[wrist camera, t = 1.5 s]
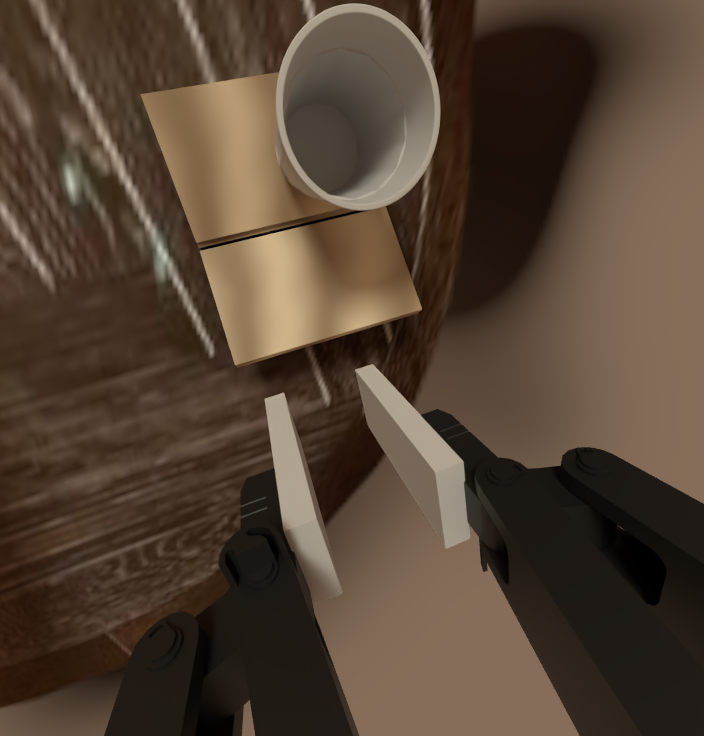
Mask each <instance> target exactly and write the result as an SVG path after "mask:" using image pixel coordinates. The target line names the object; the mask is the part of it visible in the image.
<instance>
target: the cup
mask: <svg viewBox="0 0 704 736" xmlns="http://www.w3.org/2000/svg"><path fill="white" fill-rule="evenodd" d="M439 125H440V98H439V91H438V85H437V81H436V77H435V74H434V71H433V68H432V65H431V63H430V60H429V58H428V56H427V54H426V52H425V50H424V48H423V47H422V45H421V43H420V42H419V41H418V39H417V38H416V37H415V35H414V34H413V33H412V32H411V31H410V29H409V28H408V27H407V26H406V25H404V24H403V23H402V22H401V21H400V20H399V19H397V18H396V17H394V16H393V15H391V14H390V13H388V12H386V11H384V10H382V9H379V8H377V7H373V6H370V5H365V4H344V5H339V6H335V7H332V8H330V9H327V10H325V11H323V12H321V13H320V14H318V15H317V16H315V17H314V18H313V19H311V20H310V21H309V22H308V23H307V24H306V25H305V26H304V27H303V28H302V29H301V30H300V31H299V32H298V34H297V35H296V36H295V38H294V39H293V41H292V43H291V44H290V46H289V48H288V50H287V52H286V54H285V57H284V59H283V62H282V65H281V68H280V72H279V76H278V81H277V89H276V155H277V160H278V163H279V166H280V168H281V171H282V173H283V174H284V176H285V178H286V179H287V180H288V182H289V183H290V184H291V185H292V186H293V187H294V188H295V189H296V190H298V191H299V192H301V193H302V194H304V195H306V196H309V197H312V198H316V199H319V200H322V201H326V202H328V203H331V204H333V205H336V206H338V207H341V208H345V209H349V210H357V211H367V210H374V209H378V208H382V207H385V206H387V205H389V204H392V203H393V202H395V201H397V200H398V199H400V198H401V197H403V196H404V195H405V194H406V193H408V192H409V191H410V190H411V189H412V188H413V187H414V185H415V184H416V183H417V182H418V181H419V179H420V178H421V176H422V175H423V173H424V172H425V170H426V168H427V166H428V164H429V162H430V160H431V158H432V155H433V152H434V149H435V146H436V142H437V138H438V133H439Z"/></svg>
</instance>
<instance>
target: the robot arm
mask: <svg viewBox="0 0 704 736" xmlns="http://www.w3.org/2000/svg"><path fill="white" fill-rule="evenodd" d="M355 371H356V376H357V380H358V385H359V389H360V393H361V398H362V402H363V407H364V411H365V415H366V420H367V424H368V427H369V428H370V430H371V431H372V433H373V434H374V436H375V438H376V439H377V441H378V442H379V444H380V446H381V447H382V449H383V450H384V452H385V454H386V455H387V457H388V458H389V460H390V461H391V463H392V465H393V466H394V468H395V469H396V471H397V472H398V474H399V476H400V477H401V479H402V481H403V482H404V484H405V485H406V487H407V488H408V490H409V492H410V493H411V495H412V496H413V498H414V500H415V501H416V503H417V504H418V506H419V508H420V509H421V511H422V512H423V514H424V515H425V517H426V519H427V520H428V522H429V523H430V525H431V526H432V528H433V530H434V531H435V533H436V535H437V536H438V538H439V539H440V541H441V542H442V544H443V545H444V547H445V549H447V548H449V547H452V546H454V545H456V544H458V543H461V542H463V541H465V540H468V539H470V528H469V524H470V526H471V527H472V528H473V530H474V531H475V532H476V533H477V535H478V536H479V543H480V556H481V565H482V569H483V572H485V571H487V563H488V565H489V567H490V569H491V571H492V572H493V574H494V576H495V578H496V580H497V582H498V584H499V585H500V587H501V589H502V591H503V593H504V595H505V597H506V599H507V600H508V602H509V604H510V606H511V608H512V610H513V612H514V614H515V615H516V617H517V619H518V621H519V623H520V625H521V627H522V629H523V630H524V632H525V634H526V636H527V638H528V640H529V642H530V644H531V645H532V647H533V649H534V651H535V653H536V655H537V657H538V658H539V660H540V662H541V664H542V666H543V668H544V670H545V671H546V673H547V675H548V677H549V679H550V681H551V683H552V684H553V687H554V688H555V690H556V692H557V694H558V696H559V698H560V700H561V701H562V703H563V705H564V707H565V709H566V711H567V713H568V715H569V716H570V718H571V720H572V722H573V724H574V726H575V727H576V729H577V731H578V733H579V735H580V736H704V504H703V503H701V502H699V501H697V500H695V499H694V498H692V497H690V496H688V495H686V494H685V493H683V492H681V491H679V490H677V489H675V488H674V487H672V486H670V485H668V484H666V483H664V482H663V481H661V480H659V479H657V478H655V477H654V476H652V475H649V474H648V473H646V472H644V471H643V470H641V469H639V468H637V467H635V466H633V465H632V464H630V463H628V462H626V461H624V460H623V459H621V458H619V457H617V456H615V455H613V454H611V453H609V452H606V451H604V450H601V449H596V448H590V447H582V448H575V449H572V450H569V451H567V452H566V453H565V454H564V455H563V457H562V461H561V466H555V467H545V468H536V469H535V468H534V469H527V468H526V467H525V466H523V465H522V464H521V463H519V462H516V461H514V460H511V459H507V458H498V457H497V456H496V455H495V454H494V453H492V452H491V451H490V450H489V449H488V448H487V447H486V446H485V445H484V444H483V443H482V442H480V441H479V440H478V439H477V438H476V437H475V436H474V435H473V434H472V433H471V432H468V430H467V429H466V428H465V427H464V426H463V425H461V424H460V422H458V421H457V420H456V419H455V418H454V417H453V416H452V415H451V414H448V413H446V412H443V411H441V410H438V409H436V410H434V411H431V412H428V413H425V414H422V415H420V414H419V413H418V412H417V411H416V410H415V409H414V408H413V407H412V406H411V405H410V404H409V402H408V401H407V400H406V399H405V398H404V397H403V396H402V395H401V394H400V393H399V392H398V391H397V390H396V389H395V387H394V386H393V385H392V384H391V383H390V382H389V381H388V380H387V379H386V378H385V377H384V376H383V375H382V374H381V372H380V371H379V370H378V369H377V368H376V367H375V366H374V365H373V364H372V365H369V366H366V367H362V368H359V369H356V370H355ZM265 405H266V412H267V419H268V426H269V433H270V440H271V447H272V454H273V461H274V469H271V470H269V471H266V472H263V473H260V474H257V475H255V476H252V477H249V478H247V480H246V482H245V484H244V486H243V488H242V490H241V530H239V531H238V532H236V533H235V534H234V535H233V536H232V537H231V538H230V539H229V540H228V541H227V542H226V543H225V545H224V547H223V549H222V551H221V553H220V557H219V567H220V568H221V570H222V572H223V574H224V575H225V577H226V579H227V581H228V583H229V584H230V586H231V587H230V588H229V589H228V591H227V592H226V593H225V594H224V595H223V596H222V597H221V598H220V599H218V600H217V601H216V602H215V603H213V604H212V605H211V606H209V607H208V608H207V609H205V610H204V611H203V612H201V613H200V614H199V615H197V616H196V617H194V616H193V615H191V614H189V613H186V612H179V613H173V614H171V615H169V616H167V617H165V618H163V619H161V620H159V621H158V622H157V623H156V624H154V625H153V626H152V627H151V628H150V629H148V630H147V631H146V633H145V634H144V635H143V637H142V638H141V639H140V640H139V642H138V643H137V644H136V646H135V648H134V650H133V652H132V655H131V657H130V659H129V661H128V664H127V667H126V671H125V674H124V677H123V680H122V683H121V686H120V689H119V692H118V695H117V698H116V701H115V704H114V707H113V710H112V713H111V716H110V720H109V723H108V726H107V729H106V732H105V735H104V736H242V723H243V707H244V704H245V703H247V702H248V701H249V700H250V704H251V711H252V716H253V723H254V730H255V736H359V734H358V731H357V728H356V725H355V723H354V720H353V717H352V714H351V712H350V709H349V706H348V703H347V701H346V698H345V695H344V693H343V690H342V687H341V684H340V682H339V679H338V676H337V673H336V670H335V668H334V665H333V662H332V659H331V657H330V654H329V651H328V649H327V646H326V643H325V640H324V637H323V635H322V632H321V629H320V626H319V624H318V622H317V619H316V617H315V614H314V609H313V604H312V601H313V603H314V606H315V605H318V604H320V603H323V602H325V601H327V600H330V599H332V598H334V597H336V596H339V595H341V594H343V592H342V588H341V585H340V581H339V578H338V574H337V570H336V567H335V563H334V560H333V556H332V552H331V549H330V545H329V542H328V538H327V535H326V531H325V527H324V524H323V520H322V517H321V513H320V509H319V506H318V502H317V499H316V495H315V491H314V488H313V484H312V481H311V477H310V474H309V470H308V466H307V463H306V459H305V456H304V452H303V448H302V445H301V442H300V439H299V436H298V433H297V430H296V427H295V424H294V421H293V418H292V415H291V412H290V409H289V406H288V403H287V400H286V397H285V394H284V393H281V394H278V395H275V396H272V397H269V398H266V399H265ZM619 526H620V527H621V528H620V527H619ZM622 528H623V529H624V530H623V529H622Z"/></svg>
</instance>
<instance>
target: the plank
mask: <svg viewBox="0 0 704 736" xmlns="http://www.w3.org/2000/svg"><path fill="white" fill-rule="evenodd" d="M200 253H201V256H202V259H203V263H204V266H205V269H206V272H207V276H208V279H209V282H210V285H211V289H212V292H213V295H214V298H215V302H216V305H217V308H218V311H219V315H220V318H221V321H222V324H223V328H224V331H225V334H226V337H227V341H228V344H229V347H230V350H231V354H232V357H233V360H234V363H235V366H237V367H241V366H245V365H248V364H251V363H255V362H258V361H261V360H265V359H268V358H271V357H274V356H278V355H281V354H284V353H288V352H291V351H294V350H298V349H301V348H304V347H308V346H311V345H314V344H318V343H321V342H324V341H328V340H331V339H334V338H337V337H341V336H344V335H347V334H351V333H354V332H357V331H361V330H364V329H367V328H371V327H374V326H377V325H381V324H384V323H387V322H391V321H394V320H397V319H400V318H404V317H407V316H410V315H414V314H417V313H418V312H420V311H421V310H422V307H421V305H420V302H419V299H418V296H417V293H416V290H415V288H414V285H413V282H412V279H411V276H410V274H409V271H408V268H407V265H406V262H405V259H404V257H403V254H402V251H401V248H400V245H399V242H398V240H397V237H396V234H395V231H394V228H393V226H392V223H391V220H390V217H389V214H388V211H387V209H386V206H385V207H382V208H378V209H374V210H369V211H365V212H360V213H356V214H352V215H348V216H344V217H340V218H335V219H331V220H327V221H323V222H319V223H315V224H310V225H306V226H302V227H298V228H294V229H290V230H285V231H281V232H277V233H273V234H269V235H265V236H260V237H256V238H252V239H248V240H244V241H240V242H236V243H231V244H227V245H223V246H219V247H215V248H211V249H206V250H202V251H200Z"/></svg>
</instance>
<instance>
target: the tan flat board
mask: <svg viewBox="0 0 704 736" xmlns="http://www.w3.org/2000/svg"><path fill="white" fill-rule="evenodd" d="M278 76H279V72H278V73H271V74H265V75H259V76H253V77H246V78H240V79H234V80H228V81H222V82H215V83H209V84H203V85H197V86H190V87H184V88H178V89H172V90H166V91H159V92H153V93H147V94H141V97H142V100H143V102H144V105H145V107H146V110H147V113H148V115H149V118H150V121H151V123H152V126H153V129H154V131H155V134H156V137H157V139H158V142H159V145H160V147H161V150H162V153H163V155H164V158H165V161H166V163H167V166H168V168H169V171H170V174H171V176H172V179H173V182H174V184H175V187H176V190H177V192H178V195H179V198H180V200H181V203H182V206H183V208H184V211H185V214H186V216H187V219H188V222H189V224H190V227H191V230H192V232H193V235H194V237H195V240H196V243H197V244H198V247H199V248H202V247H206V246H210V245H214V244H219V243H223V242H227V241H231V240H235V239H240V238H244V237H248V236H252V235H256V234H261V233H265V232H269V231H273V230H277V229H281V228H286V227H290V226H294V225H298V224H302V223H307V222H311V221H315V220H319V219H323V218H328V217H332V216H336V215H340V214H344V213H348V212H353V211H357V210H349V209H345V208H341V207H338V206H336V205H333V204H331V203H328V202H326V201H322V200H319V199H316V198H312V197H309V196H306V195H304V194H302V193H301V192H299V191H298V190H296V189H295V188H294V187H293V186H292V185H291V184H290V183H289V182H288V180H287V179H286V178H285V176H284V174H283V173H282V171H281V168H280V166H279V163H278V160H277V155H276V89H277V81H278Z"/></svg>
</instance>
